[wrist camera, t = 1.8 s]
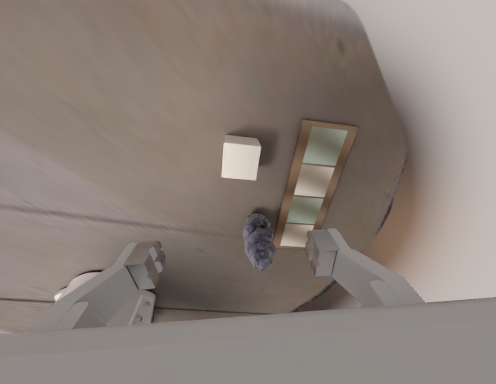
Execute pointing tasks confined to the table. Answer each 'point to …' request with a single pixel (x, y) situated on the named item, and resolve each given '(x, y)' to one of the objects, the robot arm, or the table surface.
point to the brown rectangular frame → (312, 180)
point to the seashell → (258, 241)
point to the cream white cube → (240, 157)
